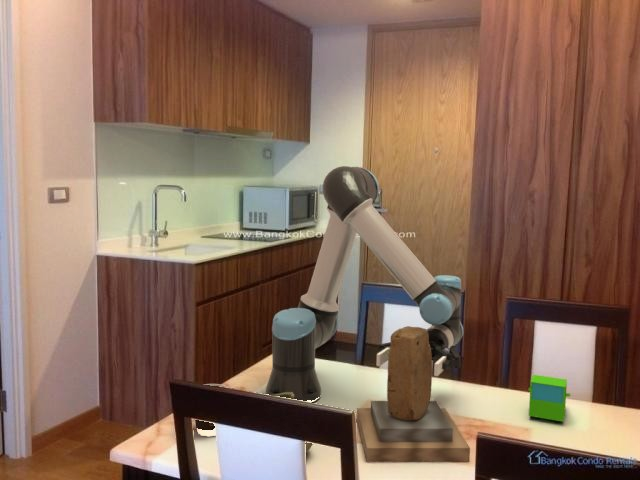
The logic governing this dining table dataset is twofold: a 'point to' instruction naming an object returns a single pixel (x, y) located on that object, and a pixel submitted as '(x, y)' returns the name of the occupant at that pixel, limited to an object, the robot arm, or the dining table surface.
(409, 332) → the block
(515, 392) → the dining table surface
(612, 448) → the dining table surface
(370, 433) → the tower base
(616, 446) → the dining table surface
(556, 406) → the toy car
